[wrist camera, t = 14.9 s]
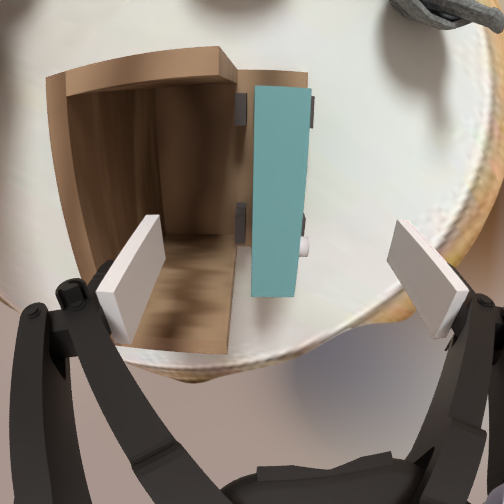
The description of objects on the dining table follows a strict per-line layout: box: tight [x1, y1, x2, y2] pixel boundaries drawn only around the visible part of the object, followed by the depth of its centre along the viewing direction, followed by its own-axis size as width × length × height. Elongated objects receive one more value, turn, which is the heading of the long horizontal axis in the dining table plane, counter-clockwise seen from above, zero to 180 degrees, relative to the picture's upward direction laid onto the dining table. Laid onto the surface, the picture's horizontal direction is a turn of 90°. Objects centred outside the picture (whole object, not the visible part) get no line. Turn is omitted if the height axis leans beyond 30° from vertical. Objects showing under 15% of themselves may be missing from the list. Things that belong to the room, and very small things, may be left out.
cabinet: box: [46, 46, 315, 354], centre depth 24 cm, size 17×20×18 cm
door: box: [251, 86, 311, 297], centre depth 26 cm, size 5×16×12 cm, turn 179°
